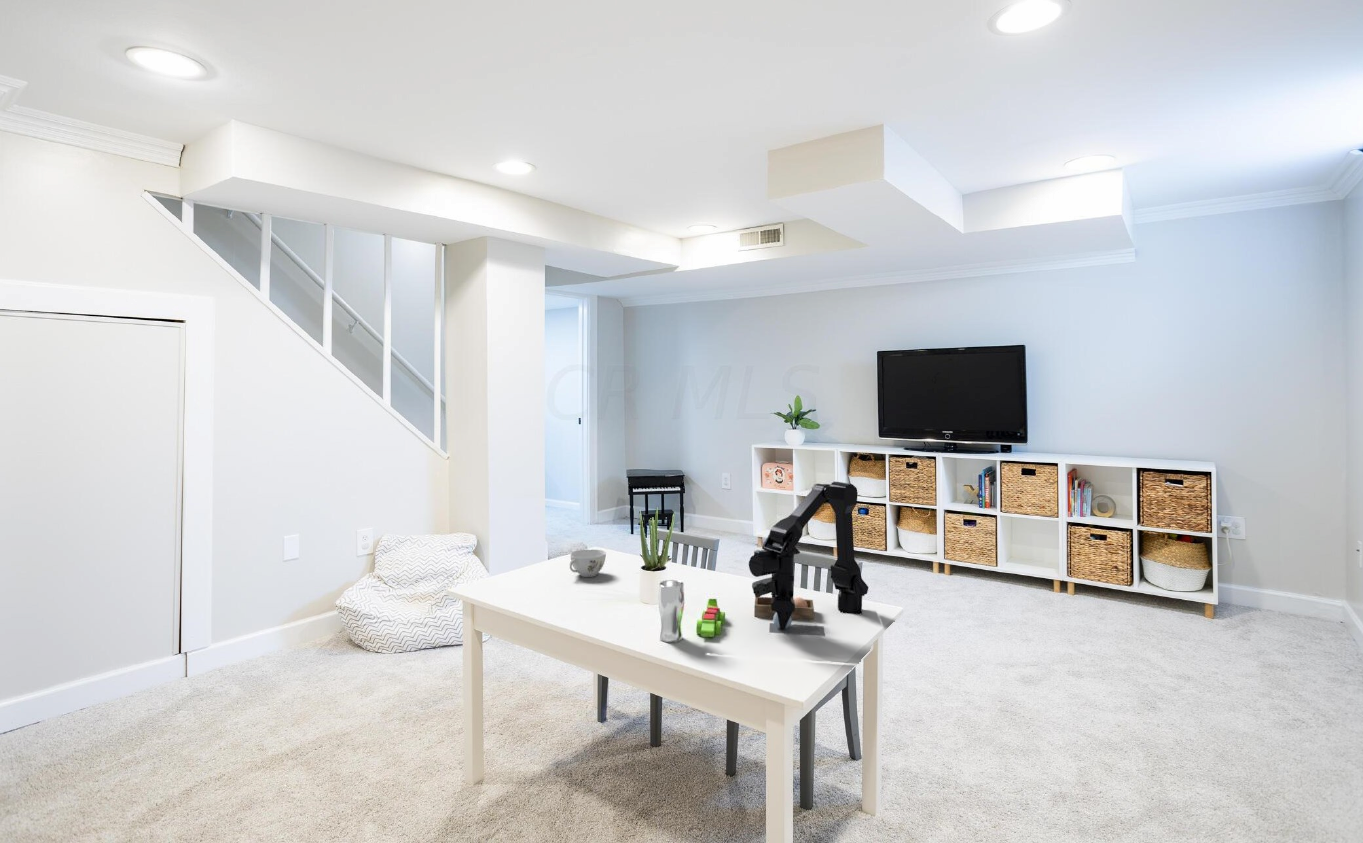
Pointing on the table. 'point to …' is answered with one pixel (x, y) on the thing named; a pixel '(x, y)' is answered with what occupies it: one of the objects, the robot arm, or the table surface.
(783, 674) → the table surface
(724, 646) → the table surface
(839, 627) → the table surface
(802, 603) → the ball terracotta
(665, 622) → the beer glass
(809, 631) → the mat
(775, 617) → the ball slate
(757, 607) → the open wooden crate
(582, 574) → the teacup
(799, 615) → the wooden cubby box
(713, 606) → the toy crocodile
